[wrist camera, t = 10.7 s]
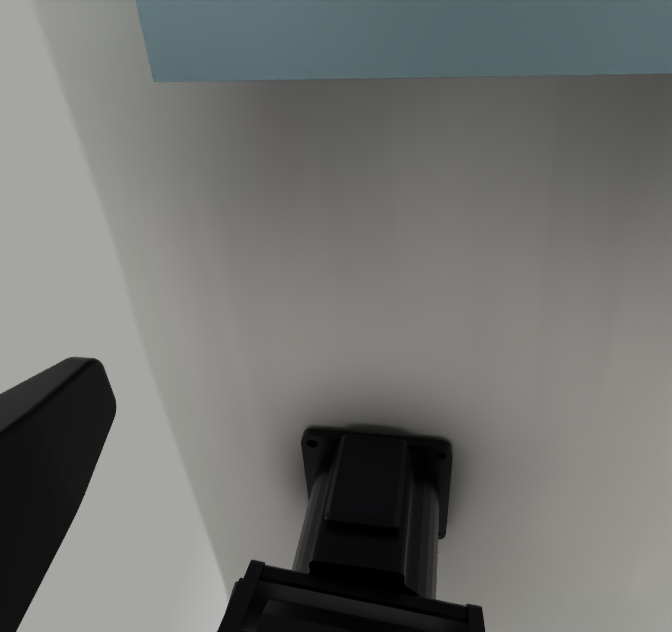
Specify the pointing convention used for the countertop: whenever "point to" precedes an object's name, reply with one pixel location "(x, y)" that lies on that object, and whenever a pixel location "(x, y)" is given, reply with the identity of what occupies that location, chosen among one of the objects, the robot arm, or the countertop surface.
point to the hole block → (403, 38)
